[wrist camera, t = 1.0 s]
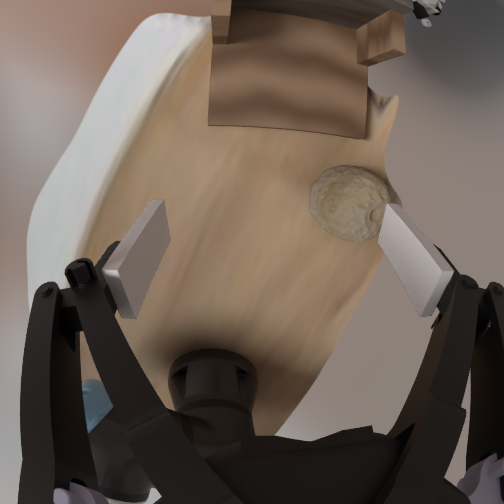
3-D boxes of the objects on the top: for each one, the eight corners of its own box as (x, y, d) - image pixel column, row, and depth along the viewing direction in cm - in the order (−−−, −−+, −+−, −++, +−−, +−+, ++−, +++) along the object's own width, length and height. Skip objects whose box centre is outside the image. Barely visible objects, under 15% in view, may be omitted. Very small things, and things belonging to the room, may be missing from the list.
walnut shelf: (356, 138, 31) (416, 145, 20) (208, 125, 28) (202, 118, 17) (359, 28, 24) (412, -2, 13) (217, 6, 22) (218, -48, 11)
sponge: (360, 185, 37) (398, 152, 28) (369, 250, 36) (415, 231, 26) (301, 179, 36) (328, 139, 26) (307, 249, 34) (341, 227, 25)
